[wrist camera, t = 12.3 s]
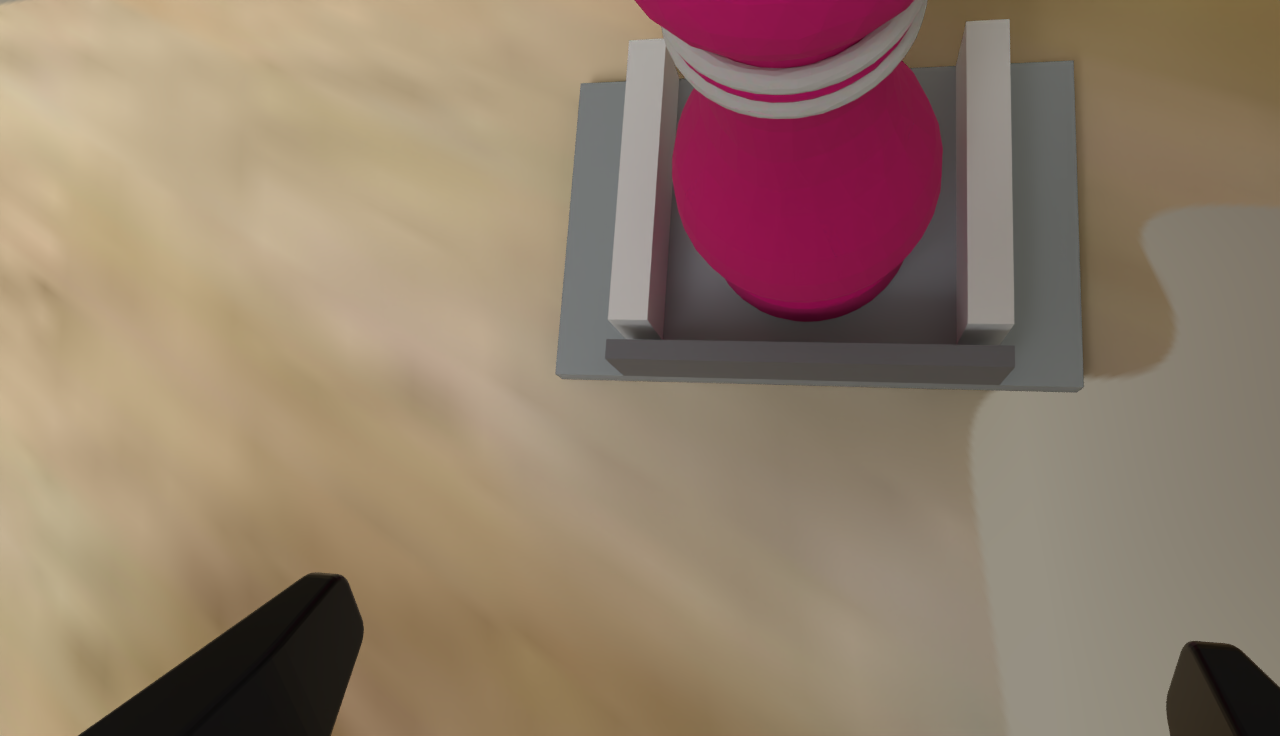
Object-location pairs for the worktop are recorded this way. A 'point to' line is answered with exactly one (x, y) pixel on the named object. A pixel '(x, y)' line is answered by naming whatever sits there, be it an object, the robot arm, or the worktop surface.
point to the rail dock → (900, 314)
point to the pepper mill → (802, 146)
